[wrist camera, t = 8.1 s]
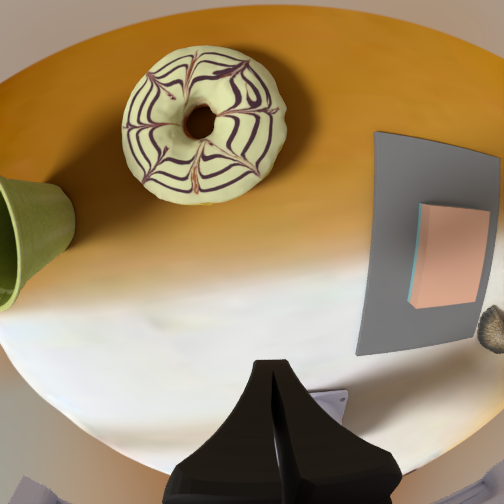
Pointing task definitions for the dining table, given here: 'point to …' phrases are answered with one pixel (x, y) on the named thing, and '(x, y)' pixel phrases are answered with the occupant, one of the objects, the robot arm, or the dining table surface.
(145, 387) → the dining table surface
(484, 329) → the eagle figurine
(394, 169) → the mat
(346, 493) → the robot arm
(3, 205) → the plant pot
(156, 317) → the dining table surface
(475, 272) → the tile
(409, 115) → the dining table surface
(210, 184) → the decorated donut
